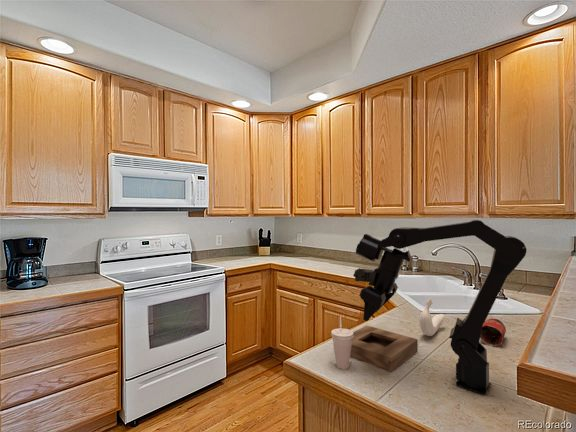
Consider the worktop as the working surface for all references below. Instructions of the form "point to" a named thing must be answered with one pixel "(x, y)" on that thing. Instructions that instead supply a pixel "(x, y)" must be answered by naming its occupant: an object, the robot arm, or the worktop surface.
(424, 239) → the robot arm
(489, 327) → the beverage can
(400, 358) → the walnut box
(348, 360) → the smoothie
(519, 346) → the worktop surface
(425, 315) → the white curved piece
